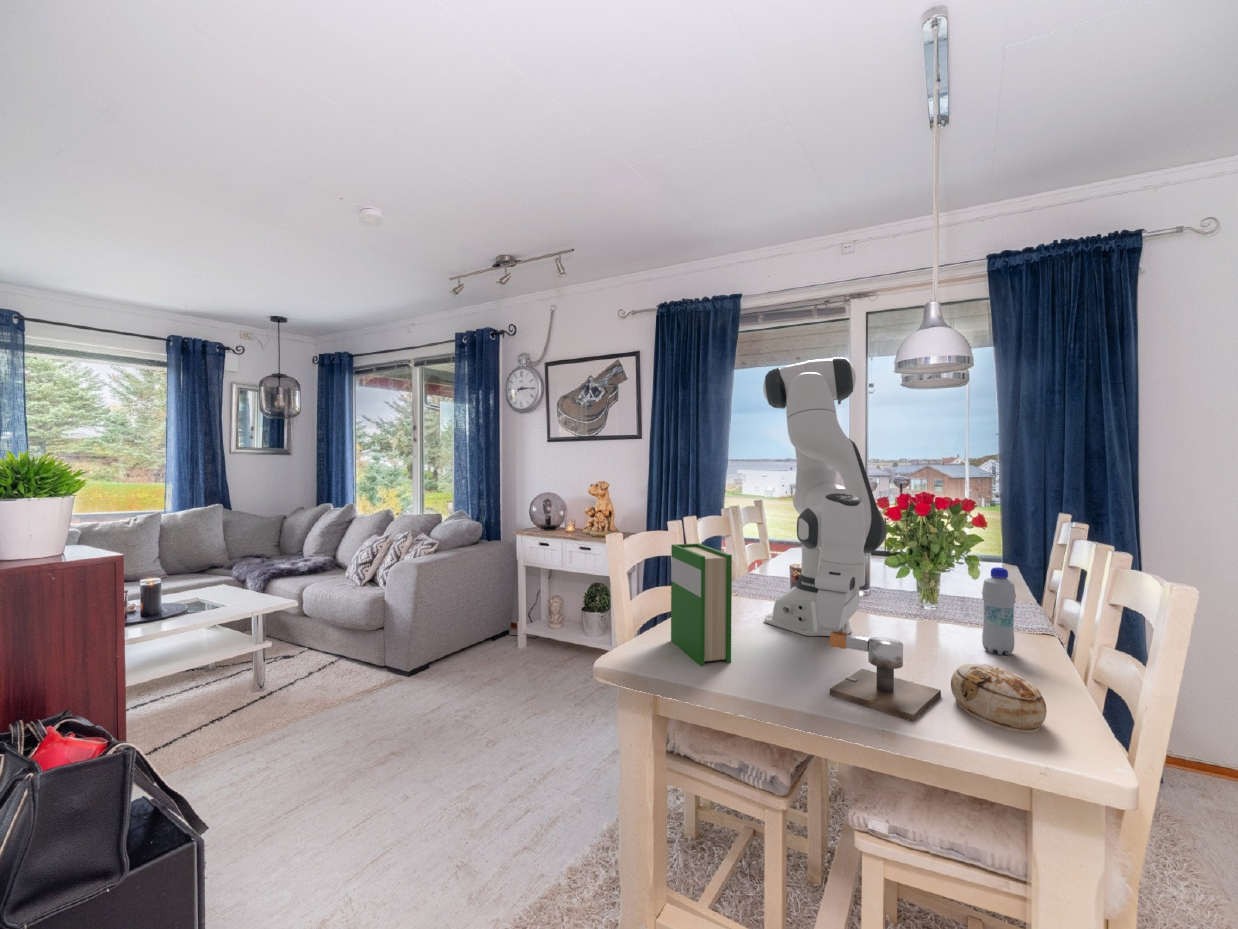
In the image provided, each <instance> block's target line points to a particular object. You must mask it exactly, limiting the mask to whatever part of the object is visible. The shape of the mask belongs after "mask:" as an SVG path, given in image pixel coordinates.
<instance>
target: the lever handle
mask: <svg viewBox="0 0 1238 929" xmlns="http://www.w3.org/2000/svg"><path fill="white" fill-rule="evenodd" d="M829 647H832V648H839V649H843V650H844V649H845V650H846V649H850V650H855V651H860V652H866V653H867V656H868V657H867V658H868V659H867V660H868V663H870V664H871V665H873V666H875V667H877V666H878V667H882V668H888V669H894V670H895V669H902V668H903V666H904V644H903V642H901V641H900V640H897V639H894V638H891V637H890V638H889V637H883V636H882V637H881V636H880V637H879V636H877V637H876V636H875V637H867V636H860V635H856V634H855V635H854V634H851V633H849V634H848V633H844V632H834V631H832V632H831V633H830V636H829Z"/></svg>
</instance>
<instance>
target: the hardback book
mask: <svg viewBox="0 0 1238 929" xmlns="http://www.w3.org/2000/svg"><path fill="white" fill-rule="evenodd" d="M670 549H671V551H670V553H671V554H670V555H671V557H670V558H671V562H670V563H671V566H670V568H671V570H670V574H671V575H670V576H671V577H670V578H671V579H670V581H671V582H670V584H671V586H670V590H671V591H670V594H671V595H670V596H671V597H670V641H671V642H672V643H673V644H674V645H675V646H677V647H678V649H680V650H681V651H682V652H683V653H685V655H687V656H688V657H689V658H691V659H692V660H693V661H694V662H695V663H696V664H697V665H699V666H700V667H703V666H705V662H711V661H712V662H713V661H721V660H722V661H724V662H725V663H726V664H731V663H732V601H733V600H732V596H733V594H732V590H733V589H732V588H733V587H732V585H733V582H732V580H733V578H732V577H733V576H732V573H733V572H732V570H733V569H732V568H733V565H732V564H733V563H732V562H733V560H732V558H733V557H732V556H733V555H732V554H730V553H728V552H724V551H721V550H719V549H715V548H712V547H710V546H707V545H704V544H703V543H702V544H701V543H681V544H680V543H678V544H671V548H670Z"/></svg>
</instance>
